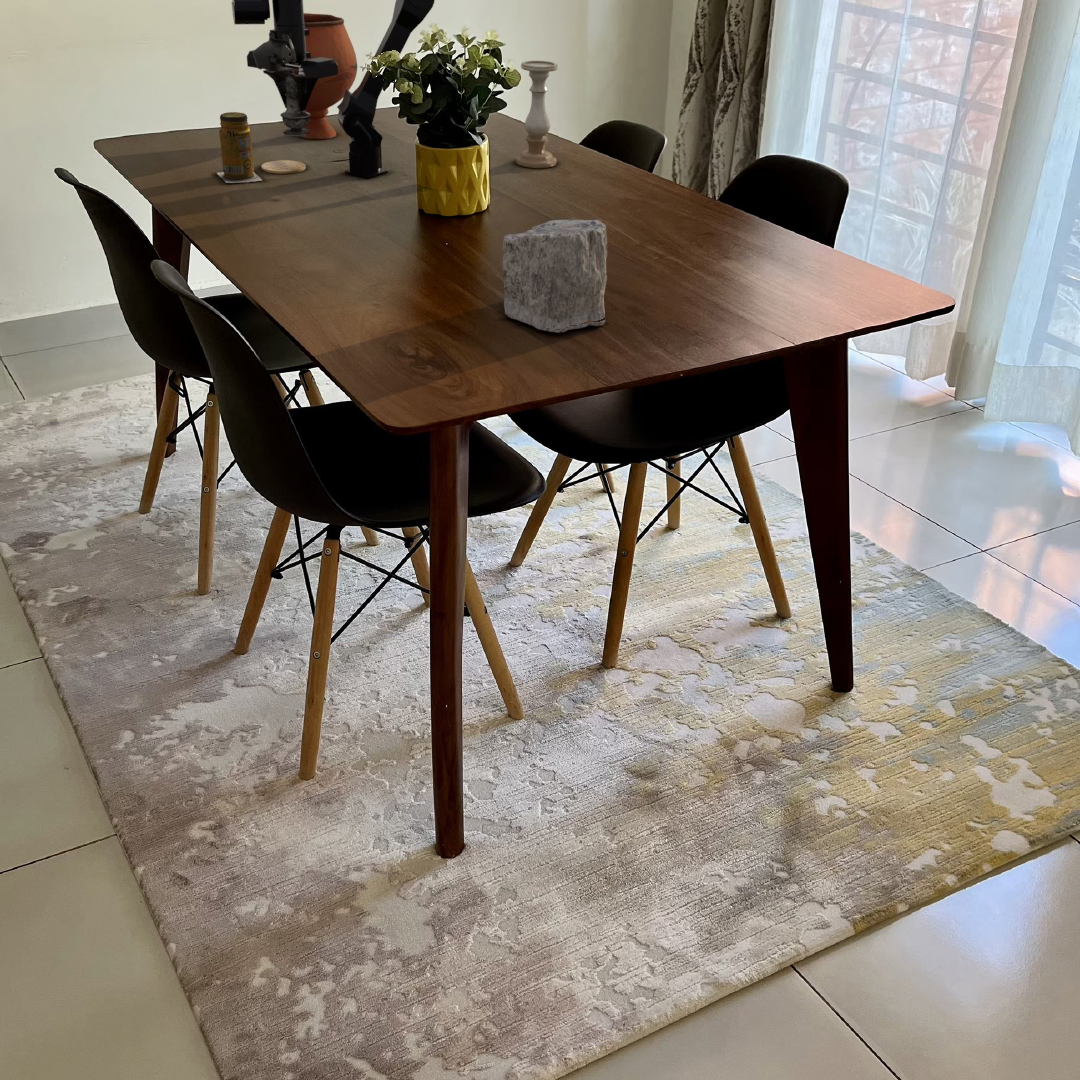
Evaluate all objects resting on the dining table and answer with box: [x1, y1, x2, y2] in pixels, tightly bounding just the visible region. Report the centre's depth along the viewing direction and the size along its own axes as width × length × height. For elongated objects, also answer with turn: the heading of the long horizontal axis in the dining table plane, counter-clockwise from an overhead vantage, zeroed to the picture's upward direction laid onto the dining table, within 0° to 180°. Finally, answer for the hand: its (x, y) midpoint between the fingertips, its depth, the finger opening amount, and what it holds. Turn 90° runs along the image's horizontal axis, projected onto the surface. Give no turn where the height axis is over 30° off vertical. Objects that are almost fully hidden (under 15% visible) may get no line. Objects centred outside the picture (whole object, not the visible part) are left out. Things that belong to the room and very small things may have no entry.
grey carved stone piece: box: [280, 69, 311, 137], centre depth 233 cm, size 6×6×12 cm
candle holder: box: [515, 60, 559, 169], centre depth 250 cm, size 9×9×20 cm
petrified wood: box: [501, 219, 608, 333], centre depth 176 cm, size 19×17×15 cm
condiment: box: [216, 111, 263, 184], centre depth 235 cm, size 7×8×12 cm
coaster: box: [260, 159, 307, 175], centre depth 245 cm, size 9×9×1 cm
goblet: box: [287, 12, 358, 140], centre depth 264 cm, size 19×19×25 cm
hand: (295, 109), depth 234 cm, fingers closed on grey carved stone piece, 3 cm apart
